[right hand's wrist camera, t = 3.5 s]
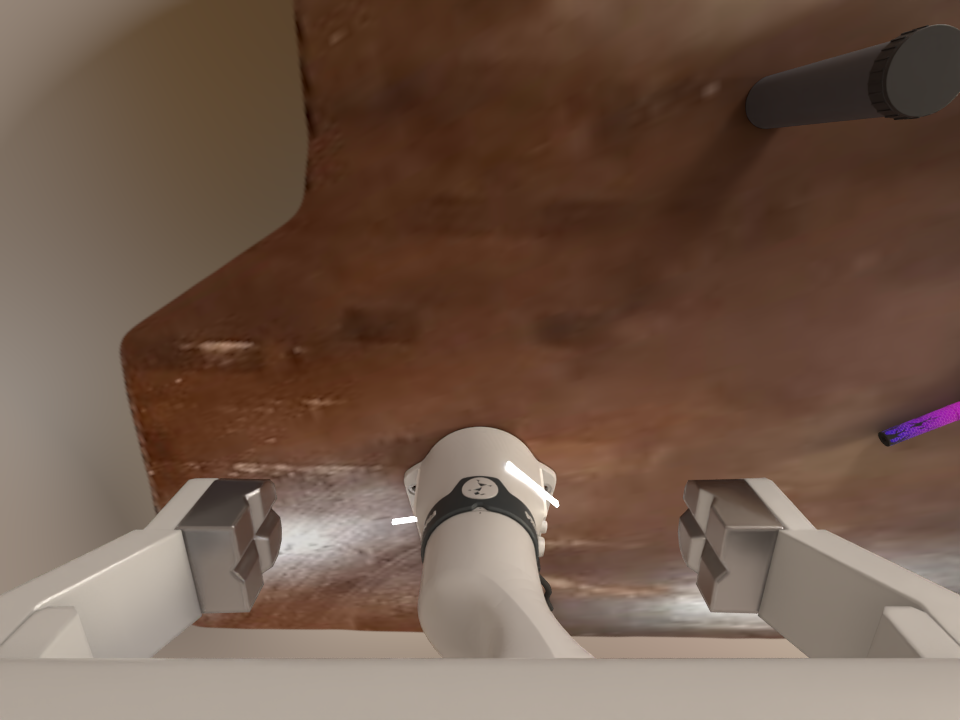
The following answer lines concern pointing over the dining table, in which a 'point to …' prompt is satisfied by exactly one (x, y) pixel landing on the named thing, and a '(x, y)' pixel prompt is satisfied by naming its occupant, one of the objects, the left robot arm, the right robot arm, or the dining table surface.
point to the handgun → (920, 425)
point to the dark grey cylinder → (815, 92)
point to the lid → (916, 73)
